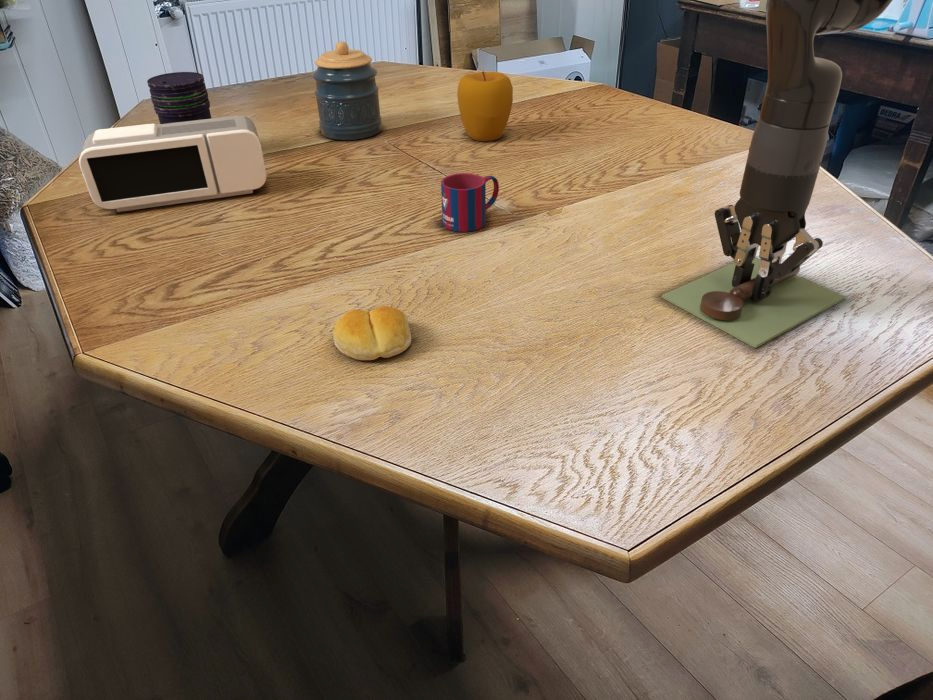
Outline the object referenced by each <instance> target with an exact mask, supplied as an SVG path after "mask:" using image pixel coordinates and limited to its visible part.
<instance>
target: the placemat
mask: <svg viewBox="0 0 933 700" xmlns="http://www.w3.org/2000/svg"><path fill="white" fill-rule="evenodd" d="M760 261H761V258H759V257H758V258H757V257H755V259H754V260H753V261H752V263H754V268H753V272H752V276H751V279H753V278H755V277H756V276H757V275H758V274H759V266H760ZM735 266H736V265H735V263H734V262H732V263H730V264H727V265H725V266H724V267H721V268H719V269H717V270H714V271H712V272H710V273H708V274H706V275H703V276H701V277H699V278H697V279H694V280H693V281H690V282H688V283H686V284H683V285H680V286H678V287H676V288H675V289H672V290H670V291H668V292H666V293H663V294H661V299H663V300H665V301H667V302H668V303H670V304H672V305H674V306H676V307H678V308H680V309H682V310H684V311H685V312H687V313H688V314H691V315H693V316H695V317H697V318H698V319H700V320H702V321H704V322H705V323H708V324H710V325H711V326H713V327H715V328H717V329H718V330H720V331H722V332H724V333H726V334H728V335H730V336H732V337H733V338H734V339H735V338H736V339H738V341H741V342H743V343H745V344H747V345H748V346H750V347H752V348H754V349H758V348H759V347H761V346H763V345H764V344H766V343H769V342H770V341H772V340H773V339H775V338H777V337H779V336H781V335H782V334H784V333H786V332H788V331H789V330H791V329H792V330H793V328H795V327H797V326H799V325H801V324H803V323H804V322H806V321H808V320H810V319H812V318H813V317H815V316H817V315H818V314H820V313H822V312H824V311H826V310H828V309H829V308H831V307H833V306H835V305H836V304H838V303H840V302H842V301H843V300H844V301H845V299H846V296H845V295H843V294H840V293H838V292H836V291H834V290H831V289H828V288H826V287H824V286H821V285H820V284H818V283H815V282H813V281H810V280H808V279H806V278H803V277H801V276H799V275H798V274H797V275H795V276H793V277H791V278H789V279H787V280H785V281H783V282H781V283H779V284H777V285H775V286H773V287H772V291H771V294H770V295H769V296H768V297H767V298H765V299H763V300H761V301H759V302H757V303H756V302H754V301H752V300H751V298H749V299H747V300H745V301H743V308H742V312H741V315H740V316H739V317H738V318H735V319H732V320H720V319H715V318H712V317H709V316H707V315H706V314H704V313H703V312H702V311H701V309H700V304H701V299H702V296H703V295H704V294H706V293H708V292H712V291H723V292H728V293H730V291H731V289H733V288H734V287H733V286H732V279H733V274H734V270H735Z"/></svg>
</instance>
